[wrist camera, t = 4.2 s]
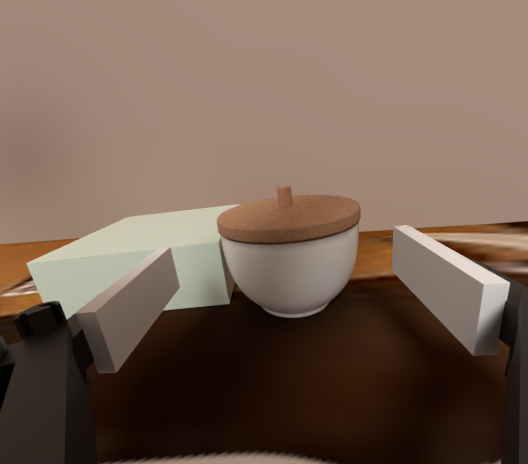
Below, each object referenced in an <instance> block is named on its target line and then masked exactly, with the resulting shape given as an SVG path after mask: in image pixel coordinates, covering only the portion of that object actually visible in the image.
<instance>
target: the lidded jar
mask: <svg viewBox="0 0 528 464" xmlns="http://www.w3.org/2000/svg"><path fill="white" fill-rule="evenodd" d="M277 192H278V198H271V199H265V200H259V201H254V202H250V203H246V204H242V205H239V206H236V207H233V208H231V209H228V210H226V211H225V212H223V213H221V214H220V215H219V216H218V218H217V227H218V232H219V234H220V235H221V240H222V246H223V250H224V255H225V259H226V262H227V265H228V268H229V270H230V273H231V275H232V277H233V279H234V281H235V282H236V284H237V285H238V287H239V288H240V290H241V291H242V292H243V293H244V294H245V295H246V296H247V297H248V298H249V299H250V300H252V301H253V302H255V303H256V304H258V305H260V306H261V307H262V308H263V309H264V310H265V311H266V312H268V313H270V314H272V315H275V316H278V317H284V318H300V317H306V316H310V315H313V314H316V313H318V312H320V311H321V310H323V309H324V308H325V307H326V306H327V305H328V304H329V302H330V301H331V300H332V299H334V298H335V297H336V296H337V295H338V294H339V293H340V292H341V291H342V290H343V288H344V287H345V285H346V284H347V282H348V281H349V279H350V277H351V274H352V272H353V269H354V265H355V261H356V257H357V250H358V238H359V220H360V206H359V204H358V203H357V202H356V201H354V200H352V199H349V198H345V197H340V196H331V195H299V196H291V186H280V187H277Z"/></svg>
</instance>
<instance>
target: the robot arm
mask: <svg viewBox="0 0 528 464" xmlns="http://www.w3.org/2000/svg"><path fill="white" fill-rule="evenodd" d="M392 271H393V272H394V273H395V274H396V275H397V276H398V277H399V278H400V280H401V281H402V282H403V283H404V284H405V285H406V286H407V287H408V288H409V289H410V290H411V291H412V292H413V293H414V294H415V295H416V296H417V297H418V298H419V299H420V300H421V301H422V303H423V304H424V305H425V306H426V307H427V308H428V309H429V310H430V311H431V312H432V313H433V314H434V315H435V316H436V317H437V318H438V319H439V320H440V321H441V322H442V323H443V324H444V326H445V327H446V328H447V329H448V330H449V331H450V332H451V333H452V334H453V335H454V336H455V337H456V338H457V339H458V340H459V341H460V342H461V343H462V344H463V345H464V346H465V347H466V349H467V350H468V351H469V352H470V353H471V354H472V355H473V356H475V355H496V354H497V352H498V346H499V341H500V340H502V341H503V342H504V343H505V344H506V345H508V346H509V347H510V351H509V356H508V361H507V366H506V371H505V376H507V384H506V399H505V414H504V429H503V444H502V459H501V464H528V287H526V286H524V285H522V284H520V283H519V282H517V281H515V280H513V279H511V278H509V277H507V276H506V275H502V273H500V272H498V271H496V270H493V268H491V267H489V266H487V265H485V264H483V263H481V262H478V261H475V260H472V259H469V258H468V259H467V258H465V257H464V256H462V255H460V254H458V253H456V252H455V251H453V250H451V249H449V248H448V247H446V246H444V245H442V244H440V243H439V242H437V241H435V240H433V239H432V238H430V237H428V236H426V235H424V234H423V233H421V232H419V231H417V230H416V229H414V228H412V227H410V226H408V225H403V226H394V228H393V257H392ZM179 288H180V285H179V281H178V277H177V272H176V268H175V264H174V260H173V256H172V252H171V247H165V248H158V249H157V250H155V251H154V252H153V253H152V254H150V255H149V256H148V257H146V258H145V259H144V260H143V261H141V262H140V263H139V264H138V265H136V266H135V267H134V268H132V269H131V270H130V271H129V272H127V273H126V274H125V275H124V276H122V277H121V278H120V279H118V280H117V281H116V282H115V283H113V284H112V285H111V286H110V287H108V288H107V289H106V290H104V291H103V292H102V293H100V294H99V295H98V296H96V297H95V298H94V299H93V300H92V301H90V302H89V303H87V304H86V305H85V306H84V307H82V308H81V309H80V310H79V311H77V312H76V313H75V314H73V315H72V316H71V317H70V318H68V319H66V316H65V314H64V311H63V309H62V306H61V304H60V302H59V301H50V302H45V303H42V304H38V305H36V306H33V307H31V308H29V309H27V310H25V311H23V312H21V313H20V314H18V315H17V316H16V317H15V318H14V319H13V320H14V323H15V325H16V327H17V329H18V331H19V333H20V335H21V337H22V342H19V343H15V344H11V345H6V343H5V341H4V339H3V337H2V336H1V335H0V464H98V462H97V451H96V440H95V430H94V419H93V408H92V397H91V386H90V376H89V374H88V371H87V368H88V367H89V366H90V364H91V363H92V362H93V361H94V363H95V365H96V368H97V371H98V373H113V372H117V371H118V370H119V369H120V367H121V366H122V365H123V363H124V362H125V360H126V359H127V358H128V356H129V355H130V354H131V352H132V351H133V350H134V348H135V347H136V346H137V344H138V343H139V342H140V340H141V339H142V338H143V336H144V335H145V334H146V332H147V331H148V330H149V328H150V327H151V325H152V324H153V323H154V321H155V320H156V319H157V317H158V316H159V315H160V313H161V312H162V311H163V309H164V308H165V307H166V305H167V304H168V303H169V301H170V300H171V299H172V297H173V296H174V294H175V293H176V292H177V290H178V289H179Z"/></svg>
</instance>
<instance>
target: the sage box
mask: <svg viewBox="0 0 528 464" xmlns="http://www.w3.org/2000/svg"><path fill="white" fill-rule="evenodd" d="M236 206H239V204H237V205H228V206H220V207H212V208H203V209H194V210H185V211H177V212H168V213H160V214H151V215H143V216H133V217H127V218H125V219H123V220H121V221H118V222H116V223H114V224H112V225H110V226H107V227H105V228H103V229H101V230H99V231H96V232H94V233H92V234H90V235H88V236H85V237H83V238H81V239H79V240H77V241H74V242H72V243H70V244H68V245H65V246H63V247H61V248H59V249H57V250H54V251H52V252H50V253H48V254H46V255H43V256H41V257H39V258H37V259H35V260H32V261H30V262H28V263H27V266H28V268H29V270H30V273H31V275H32V277H33V280H34V282H35V284H36V287H37V289H38V291H39V294H40V296H41V299H42V301H43V303H45V302H50V301H59V302H60V304H61V306H62V309H63V311H64V314H65V316H66V319H68V318H70V317H71V316H72V315H73V314H75V313H76V312H77V311H79V310H80V309H81V308H82V307H84V306H85V305H86V304H87V303H89V302H90V301H92V300H93V299H94V298H95V297H96V296H98V295H99V294H100V293H102V292H103V291H104V290H106V289H107V288H108V287H110V286H111V285H112V284H113V283H115V282H116V281H117V280H118V279H120V278H121V277H122V276H124V275H125V274H126V273H127V272H129V271H130V270H131V269H132V268H134V267H135V266H136V265H138V264H139V263H140V262H141V261H143V260H144V259H145V258H146V257H148V256H149V255H150V254H152V253H153V252H154V251H155V250H157V249H158V248H165V247H171V252H172V256H173V260H174V264H175V268H176V272H177V277H178V281H179V285H180V288H179V289H178V290H177V292H176V293H175V294H174V296H173V297H172V299H171V300H170V301H169V303H168V304H167V305H166V307H165V308H164V309H163V310H171V309H181V308H191V307H202V306H212V305H222V304H230V300H231V296H232V292H233V288H234V284H235V281H234V279H233V277H232V275H231V273H230V270H229V268H228V265H227V262H226V259H225V255H224V250H223V246H222V240H221V235H220V234H219V232H218V227H217V218H218V216H219V215H220V214H221V213H223V212H225V211H226V210H228V209H231V208H233V207H236Z"/></svg>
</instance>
